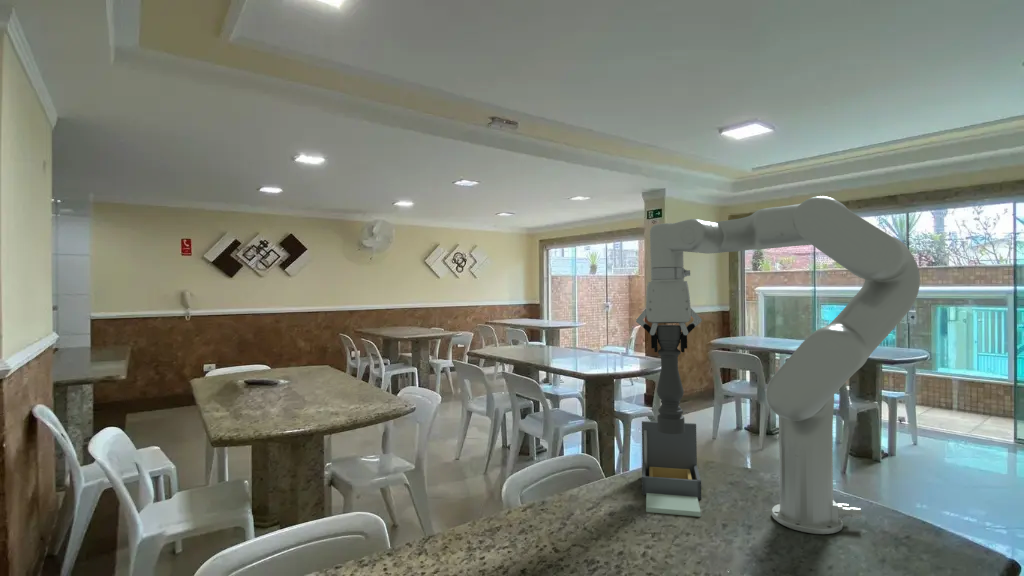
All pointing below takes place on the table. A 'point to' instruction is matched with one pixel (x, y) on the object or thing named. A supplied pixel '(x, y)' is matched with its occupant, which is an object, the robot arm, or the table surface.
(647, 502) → the sage pad
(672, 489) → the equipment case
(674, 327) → the candle holder
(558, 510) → the table surface
